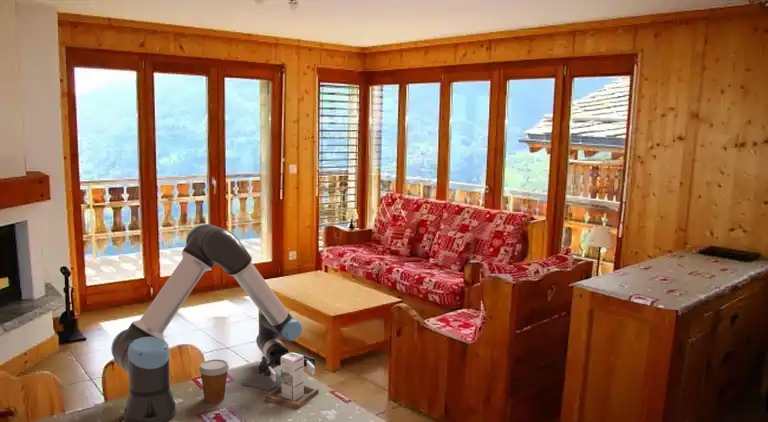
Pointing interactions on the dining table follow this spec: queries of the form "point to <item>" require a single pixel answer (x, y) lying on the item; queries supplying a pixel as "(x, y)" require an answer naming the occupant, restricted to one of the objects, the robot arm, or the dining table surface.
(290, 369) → the syrup box
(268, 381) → the rubber mat
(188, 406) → the dining table surface
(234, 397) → the dining table surface
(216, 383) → the disposable coffee cup
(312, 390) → the walnut holder frame
